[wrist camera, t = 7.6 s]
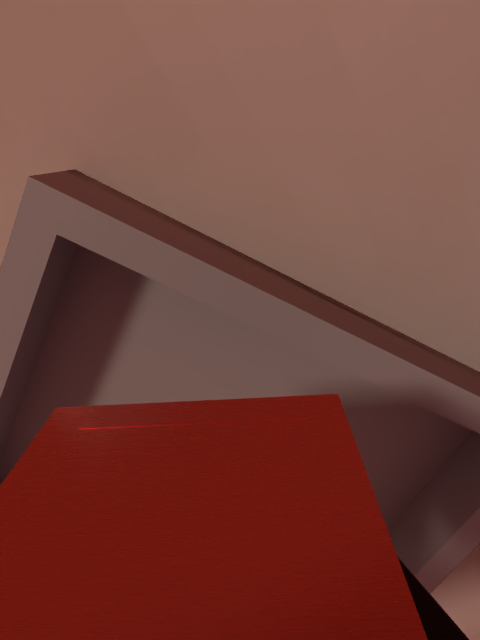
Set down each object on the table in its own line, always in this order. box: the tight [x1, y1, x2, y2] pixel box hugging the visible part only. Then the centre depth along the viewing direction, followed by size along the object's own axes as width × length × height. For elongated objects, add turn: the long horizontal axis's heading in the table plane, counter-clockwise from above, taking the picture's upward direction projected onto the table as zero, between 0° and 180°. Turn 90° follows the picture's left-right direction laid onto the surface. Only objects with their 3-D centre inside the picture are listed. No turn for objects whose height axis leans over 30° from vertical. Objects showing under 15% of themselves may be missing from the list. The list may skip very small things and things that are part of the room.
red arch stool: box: [0, 394, 428, 640], centre depth 7 cm, size 6×5×6 cm
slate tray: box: [0, 170, 480, 593], centre depth 18 cm, size 20×16×4 cm
